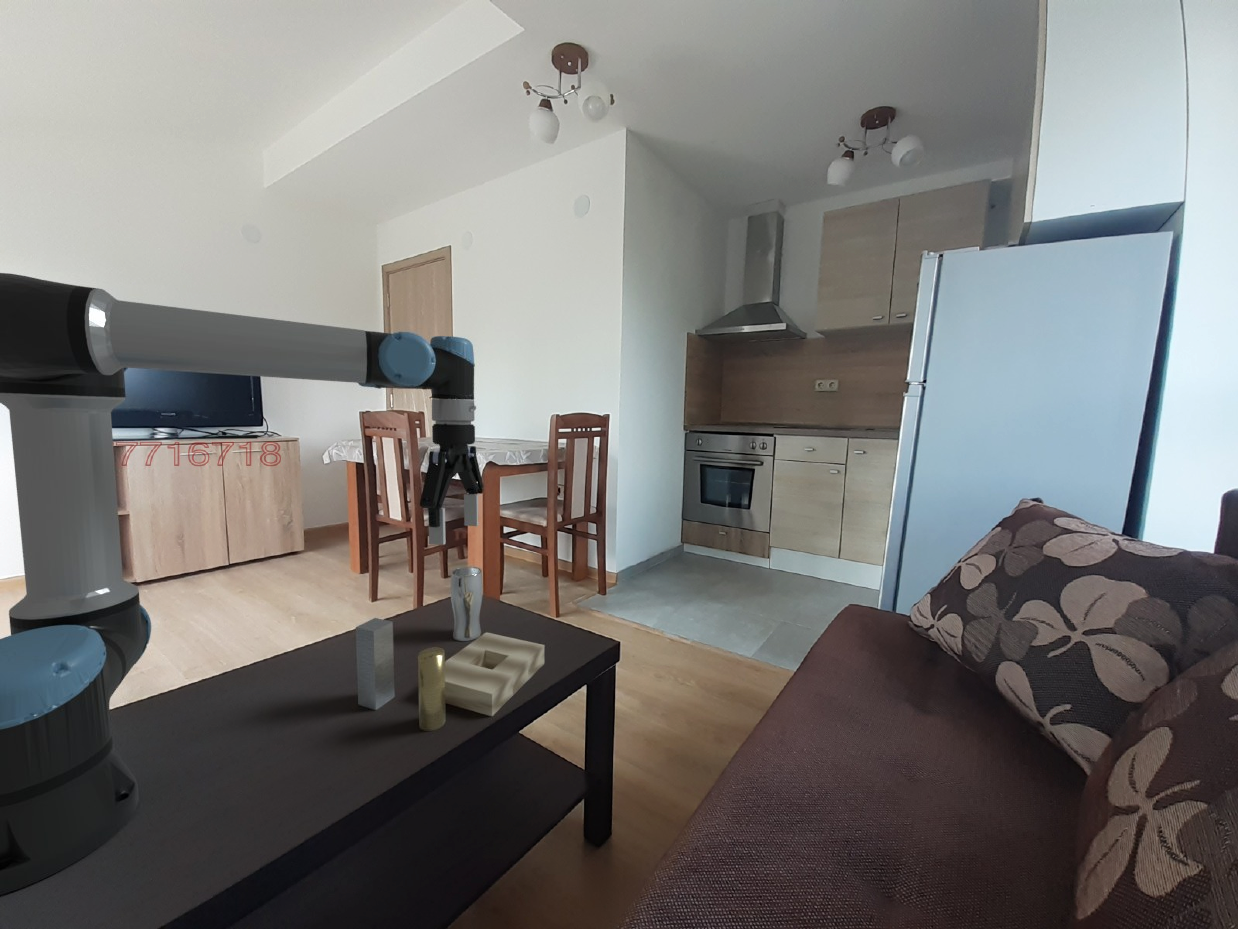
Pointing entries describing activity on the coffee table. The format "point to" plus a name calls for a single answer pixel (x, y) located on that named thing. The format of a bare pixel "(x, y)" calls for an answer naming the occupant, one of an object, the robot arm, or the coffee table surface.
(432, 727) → the round bit
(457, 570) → the beer glass
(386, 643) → the square bit
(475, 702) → the socket block
